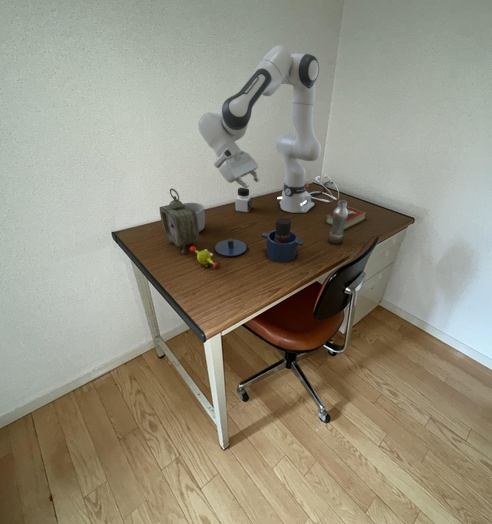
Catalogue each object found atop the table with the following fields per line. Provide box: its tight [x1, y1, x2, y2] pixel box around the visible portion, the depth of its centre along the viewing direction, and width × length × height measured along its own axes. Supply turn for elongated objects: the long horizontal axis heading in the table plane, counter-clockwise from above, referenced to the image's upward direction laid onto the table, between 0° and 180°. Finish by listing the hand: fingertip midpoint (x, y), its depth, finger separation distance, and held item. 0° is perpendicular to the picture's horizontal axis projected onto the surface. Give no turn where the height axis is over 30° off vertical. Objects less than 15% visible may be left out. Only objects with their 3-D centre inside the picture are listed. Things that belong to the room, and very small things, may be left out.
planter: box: [182, 202, 206, 233], centre depth 124 cm, size 12×12×11 cm
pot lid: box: [214, 238, 248, 257], centre depth 113 cm, size 13×13×5 cm
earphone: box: [308, 173, 340, 204], centre depth 172 cm, size 14×17×18 cm
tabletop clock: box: [159, 188, 200, 255], centre depth 107 cm, size 14×9×25 cm, turn 45°
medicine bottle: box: [234, 186, 253, 213], centre depth 146 cm, size 7×7×12 cm
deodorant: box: [275, 217, 292, 243], centre depth 110 cm, size 6×6×15 cm
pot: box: [260, 229, 305, 263], centre depth 112 cm, size 12×18×8 cm
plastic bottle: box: [328, 199, 348, 245], centre depth 121 cm, size 6×7×20 cm
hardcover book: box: [325, 206, 367, 231], centre depth 145 cm, size 12×21×4 cm, turn 136°
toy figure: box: [188, 245, 221, 270], centre depth 101 cm, size 18×6×7 cm, turn 48°
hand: (252, 184), depth 107 cm, fingers open, 8 cm apart
